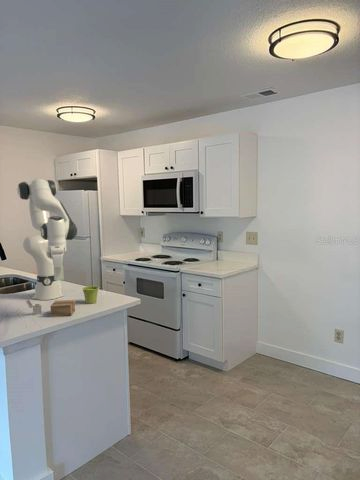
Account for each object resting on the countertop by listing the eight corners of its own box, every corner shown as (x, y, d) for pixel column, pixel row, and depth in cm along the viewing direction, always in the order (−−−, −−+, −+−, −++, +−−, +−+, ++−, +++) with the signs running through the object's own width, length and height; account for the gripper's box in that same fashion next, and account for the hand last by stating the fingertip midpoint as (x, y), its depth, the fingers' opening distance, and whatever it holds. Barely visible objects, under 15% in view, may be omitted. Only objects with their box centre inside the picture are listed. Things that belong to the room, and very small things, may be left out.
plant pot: (90, 299, 215) (90, 285, 214) (102, 301, 210) (102, 287, 210) (79, 303, 207) (78, 288, 206) (91, 305, 202) (90, 290, 202)
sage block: (54, 278, 188) (53, 267, 187) (63, 277, 189) (63, 266, 188) (54, 280, 183) (53, 268, 183) (63, 279, 185) (63, 267, 184)
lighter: (41, 312, 190) (40, 298, 189) (41, 313, 189) (40, 299, 188) (27, 314, 188) (26, 299, 187) (27, 315, 186) (26, 300, 185)
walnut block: (56, 311, 193) (55, 300, 192) (75, 310, 194) (74, 299, 193) (51, 317, 183) (50, 306, 182) (70, 316, 184) (70, 305, 183)
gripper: (51, 246, 193) (52, 271, 195) (50, 250, 174) (51, 278, 176) (63, 245, 195) (65, 270, 197) (63, 250, 176) (65, 277, 177)
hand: (58, 274), depth 186 cm, fingers closed on sage block, 4 cm apart
